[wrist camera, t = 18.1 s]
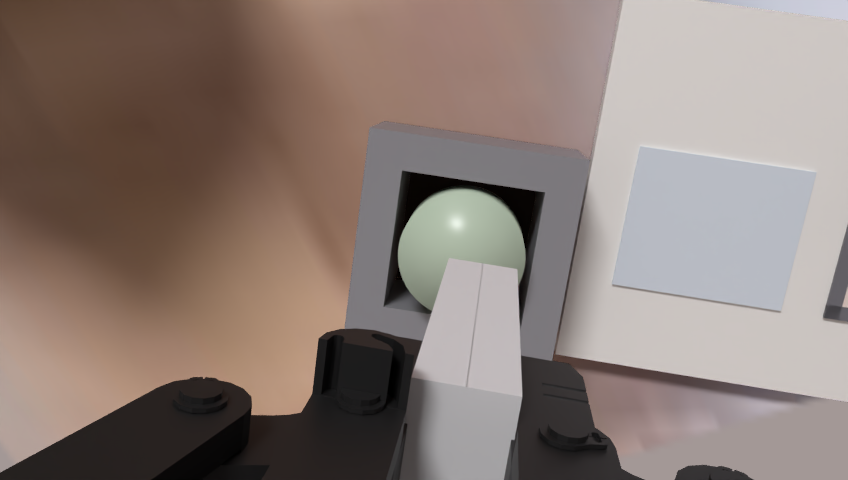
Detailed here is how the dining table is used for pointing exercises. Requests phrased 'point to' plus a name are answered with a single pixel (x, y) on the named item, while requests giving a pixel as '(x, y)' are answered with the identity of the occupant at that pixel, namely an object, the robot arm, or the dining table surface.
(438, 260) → the button
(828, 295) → the board
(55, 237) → the dining table surface
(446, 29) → the dining table surface
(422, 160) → the button housing
